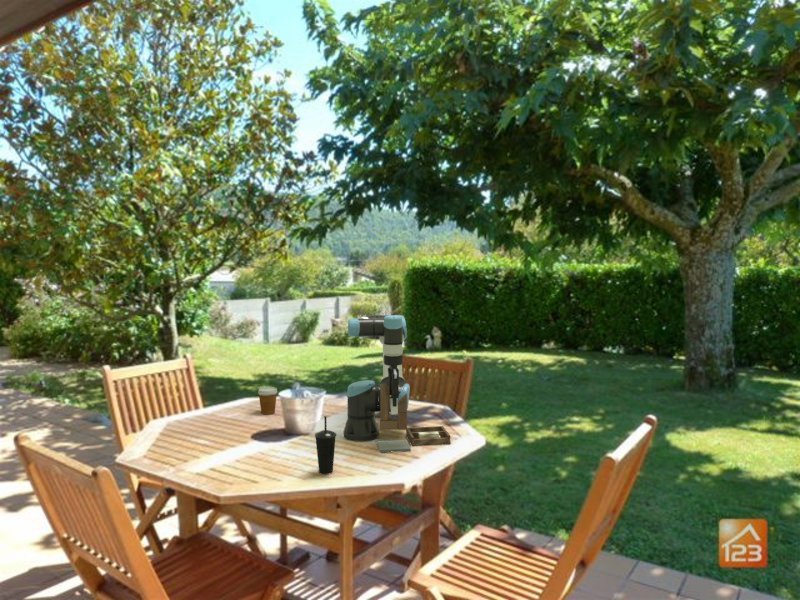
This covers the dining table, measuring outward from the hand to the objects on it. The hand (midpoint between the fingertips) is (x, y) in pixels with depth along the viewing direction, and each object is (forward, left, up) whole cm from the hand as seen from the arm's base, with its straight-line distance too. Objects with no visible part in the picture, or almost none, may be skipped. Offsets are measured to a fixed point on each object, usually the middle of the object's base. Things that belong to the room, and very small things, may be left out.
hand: (393, 412), depth 233 cm
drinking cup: (-28, -23, -14) cm, 39 cm away
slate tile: (0, 0, -14) cm, 14 cm away
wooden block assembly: (0, 0, -7) cm, 7 cm away
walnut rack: (+16, +8, -14) cm, 22 cm away
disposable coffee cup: (-54, +61, -15) cm, 82 cm away
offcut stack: (+15, +4, -15) cm, 22 cm away
